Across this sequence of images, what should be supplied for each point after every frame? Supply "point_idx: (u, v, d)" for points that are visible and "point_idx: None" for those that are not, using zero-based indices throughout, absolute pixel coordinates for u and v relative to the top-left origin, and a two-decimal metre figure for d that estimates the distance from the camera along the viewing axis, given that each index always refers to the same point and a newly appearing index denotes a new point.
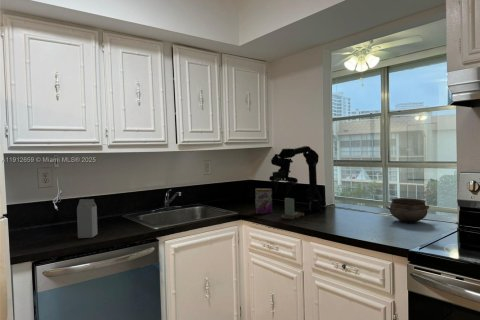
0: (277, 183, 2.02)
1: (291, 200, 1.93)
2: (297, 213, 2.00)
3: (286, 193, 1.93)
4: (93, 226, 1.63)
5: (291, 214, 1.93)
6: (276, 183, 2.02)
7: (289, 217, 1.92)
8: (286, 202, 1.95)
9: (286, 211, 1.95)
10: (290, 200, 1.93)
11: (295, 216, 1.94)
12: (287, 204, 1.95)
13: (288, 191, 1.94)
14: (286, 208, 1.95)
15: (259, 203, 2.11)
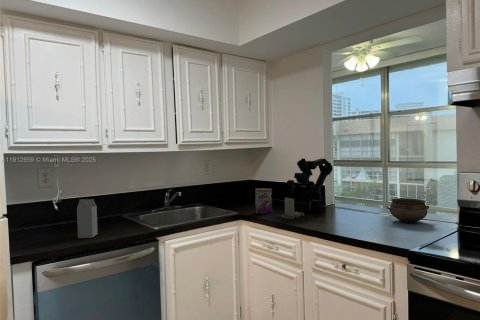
0: (293, 188, 2.08)
1: (291, 200, 1.93)
2: (297, 213, 1.99)
3: (302, 195, 1.97)
4: (93, 226, 1.63)
5: (291, 214, 1.93)
6: (292, 187, 2.07)
7: (289, 217, 1.92)
8: (286, 202, 1.95)
9: (286, 211, 1.95)
10: (290, 200, 1.93)
11: (295, 216, 1.94)
12: (287, 204, 1.95)
13: (305, 194, 1.98)
14: (286, 208, 1.95)
15: (259, 203, 2.11)
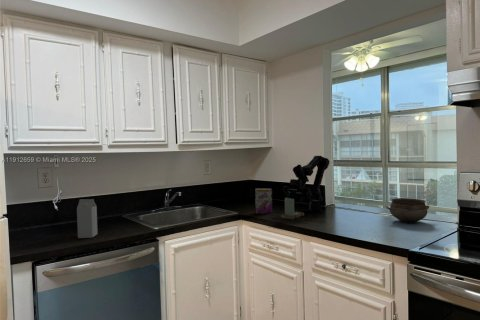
0: (289, 194, 2.04)
1: (291, 200, 1.93)
2: (297, 213, 1.99)
3: (298, 202, 1.94)
4: (93, 226, 1.63)
5: (291, 214, 1.93)
6: (288, 194, 2.03)
7: (289, 217, 1.92)
8: (286, 202, 1.95)
9: (286, 211, 1.95)
10: (290, 200, 1.93)
11: (295, 216, 1.94)
12: (287, 204, 1.95)
13: (300, 201, 1.95)
14: (286, 208, 1.95)
15: (259, 203, 2.11)
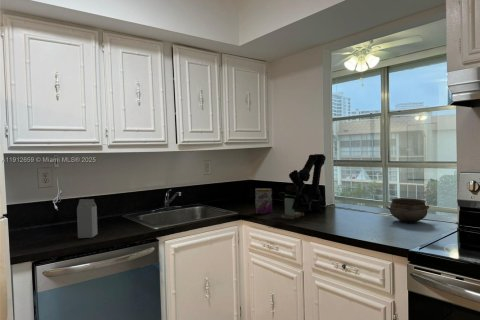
0: None
1: (291, 200, 1.93)
2: (297, 213, 2.00)
3: (292, 208, 1.92)
4: (93, 226, 1.63)
5: (291, 214, 1.93)
6: None
7: (289, 217, 1.92)
8: (286, 202, 1.95)
9: (286, 211, 1.95)
10: (290, 200, 1.93)
11: (295, 216, 1.94)
12: (287, 204, 1.95)
13: (294, 207, 1.93)
14: (286, 208, 1.95)
15: (259, 203, 2.11)
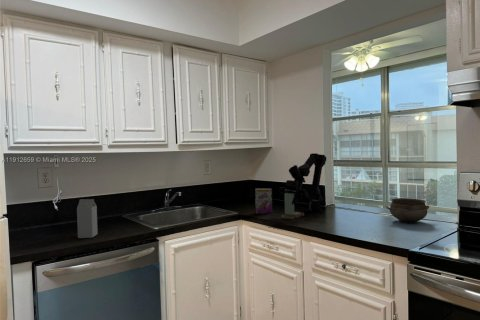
0: None
1: (291, 195, 1.93)
2: (297, 213, 2.00)
3: (292, 203, 1.92)
4: (93, 226, 1.63)
5: (291, 209, 1.93)
6: None
7: (289, 217, 1.92)
8: (286, 197, 1.95)
9: (286, 206, 1.95)
10: (290, 195, 1.93)
11: (295, 216, 1.94)
12: (287, 199, 1.95)
13: (294, 202, 1.93)
14: (286, 203, 1.95)
15: (259, 203, 2.11)
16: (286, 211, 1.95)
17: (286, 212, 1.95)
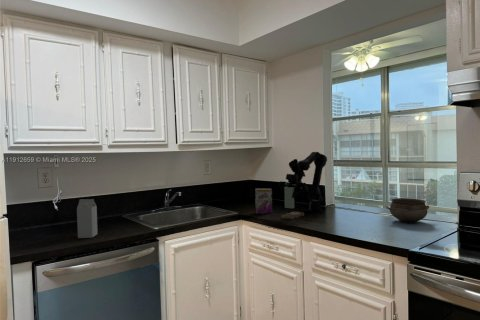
0: None
1: (291, 189, 1.92)
2: (297, 213, 2.00)
3: (292, 196, 1.91)
4: (93, 226, 1.63)
5: (291, 203, 1.93)
6: None
7: (289, 217, 1.92)
8: (286, 191, 1.95)
9: (286, 200, 1.95)
10: (290, 189, 1.93)
11: (295, 216, 1.94)
12: (287, 193, 1.94)
13: (294, 196, 1.92)
14: (286, 197, 1.95)
15: (259, 203, 2.11)
16: (286, 205, 1.95)
17: (286, 206, 1.95)
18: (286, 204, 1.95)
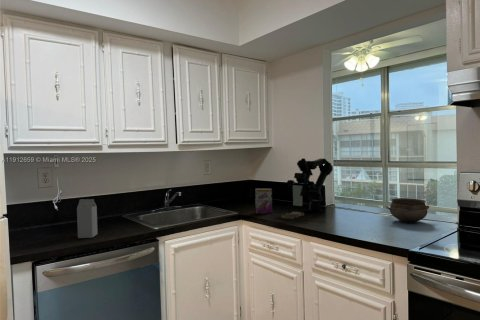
0: None
1: (299, 187, 2.00)
2: (298, 213, 1.99)
3: (300, 194, 1.99)
4: (93, 226, 1.63)
5: (299, 200, 2.00)
6: None
7: (289, 217, 1.92)
8: (294, 189, 2.02)
9: (294, 198, 2.02)
10: (298, 187, 2.00)
11: (295, 216, 1.94)
12: (295, 191, 2.02)
13: (302, 194, 2.00)
14: (294, 195, 2.02)
15: (259, 203, 2.11)
16: (294, 202, 2.02)
17: (294, 203, 2.02)
18: (294, 202, 2.02)
